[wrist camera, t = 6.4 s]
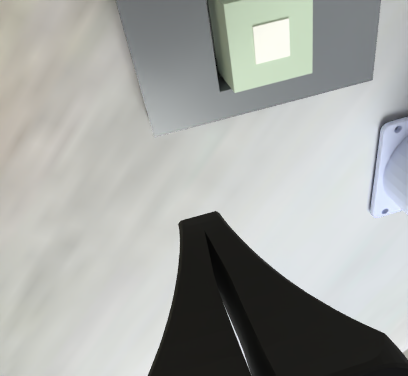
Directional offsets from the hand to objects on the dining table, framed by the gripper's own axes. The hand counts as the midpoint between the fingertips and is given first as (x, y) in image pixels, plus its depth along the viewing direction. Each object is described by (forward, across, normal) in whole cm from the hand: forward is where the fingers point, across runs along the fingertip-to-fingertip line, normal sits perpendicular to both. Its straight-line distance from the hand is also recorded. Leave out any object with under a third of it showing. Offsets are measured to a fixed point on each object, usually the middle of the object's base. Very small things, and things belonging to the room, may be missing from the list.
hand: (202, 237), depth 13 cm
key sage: (+10, -5, -4) cm, 12 cm away
